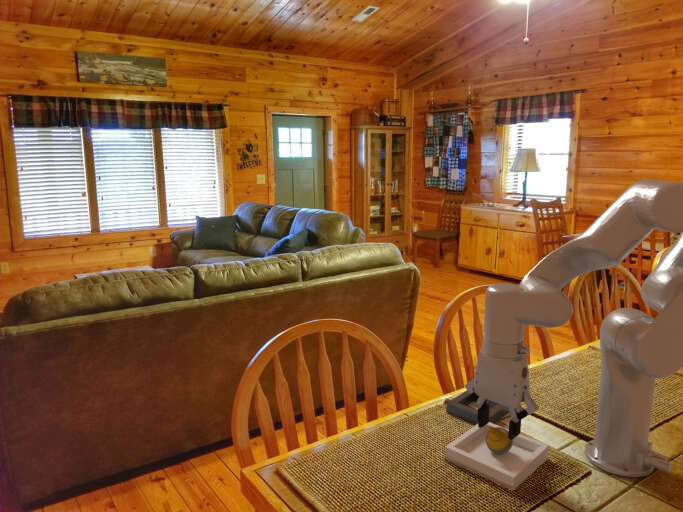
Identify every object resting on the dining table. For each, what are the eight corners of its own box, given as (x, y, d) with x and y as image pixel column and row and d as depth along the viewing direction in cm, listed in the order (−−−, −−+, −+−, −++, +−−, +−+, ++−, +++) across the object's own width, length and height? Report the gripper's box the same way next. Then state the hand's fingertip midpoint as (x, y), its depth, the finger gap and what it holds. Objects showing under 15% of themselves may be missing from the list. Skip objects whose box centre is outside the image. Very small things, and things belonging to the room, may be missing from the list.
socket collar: (510, 411, 129) (511, 401, 129) (487, 428, 122) (487, 418, 121) (470, 396, 137) (470, 387, 136) (446, 412, 129) (446, 402, 129)
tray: (548, 458, 110) (549, 445, 109) (513, 492, 99) (513, 477, 99) (482, 432, 120) (483, 419, 120) (444, 459, 110) (445, 446, 109)
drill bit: (520, 454, 110) (507, 433, 104) (496, 463, 111) (481, 443, 105) (510, 431, 114) (496, 409, 108) (487, 440, 115) (472, 420, 109)
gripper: (554, 353, 102) (547, 439, 105) (473, 331, 113) (470, 410, 117) (536, 364, 96) (530, 455, 100) (454, 341, 108) (451, 422, 112)
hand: (498, 430), depth 109 cm, fingers open, 6 cm apart
